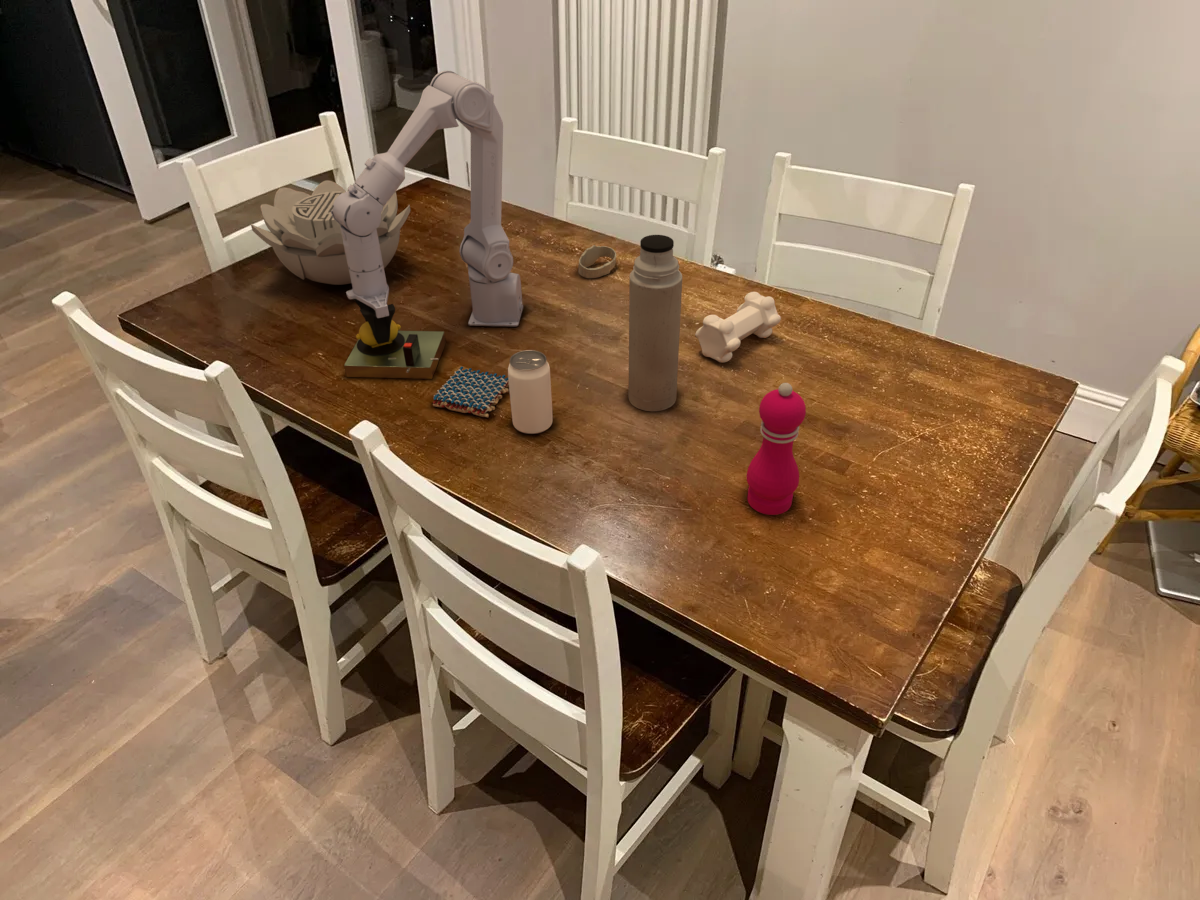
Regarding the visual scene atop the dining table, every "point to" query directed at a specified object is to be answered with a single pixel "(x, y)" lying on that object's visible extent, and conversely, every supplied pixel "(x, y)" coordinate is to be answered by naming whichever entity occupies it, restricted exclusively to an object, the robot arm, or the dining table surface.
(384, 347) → the burner
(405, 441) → the dining table surface
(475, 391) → the woven mat
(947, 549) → the dining table surface
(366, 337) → the lemon
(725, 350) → the bone shaped toy
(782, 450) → the pepper mill
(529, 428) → the can
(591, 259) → the grey oval ring
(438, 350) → the hob
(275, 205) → the decorative bowl
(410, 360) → the black block
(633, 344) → the thermos bottle
